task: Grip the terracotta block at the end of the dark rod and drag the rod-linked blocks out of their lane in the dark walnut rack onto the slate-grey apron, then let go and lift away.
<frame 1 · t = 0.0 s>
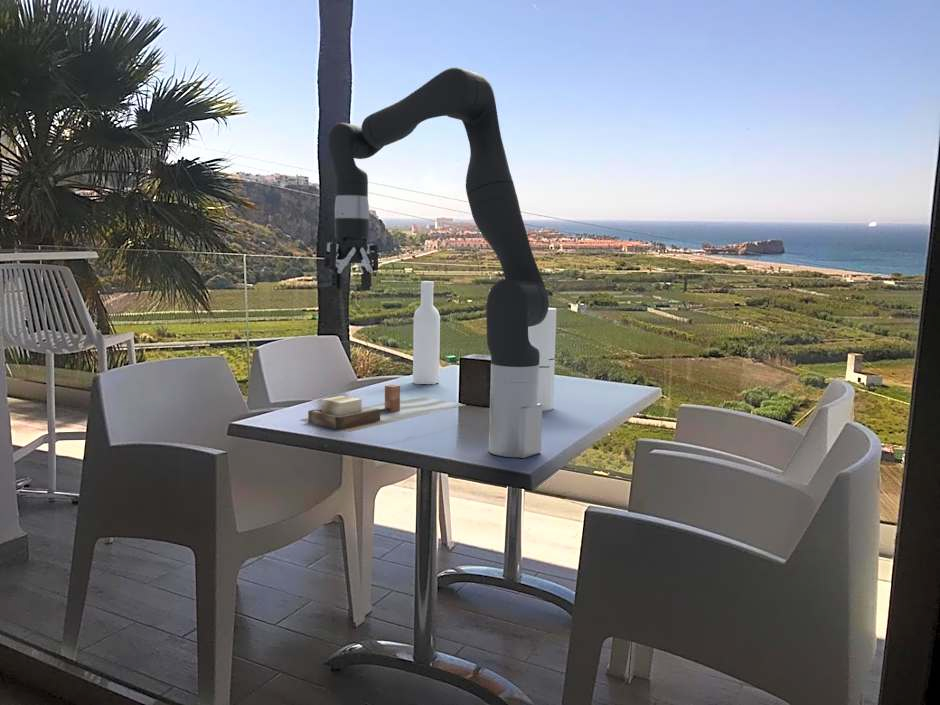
hand: (351, 290, 168), 29 cm above the table, tool pointing down, fingers open, 8 cm apart
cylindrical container: (538, 408, 187), on the table
rod-linked blocks: (341, 421, 164), point 1 cm above the table, touching lane rack
lane rack: (364, 420, 169), on the table
bottle: (426, 383, 221), on the table
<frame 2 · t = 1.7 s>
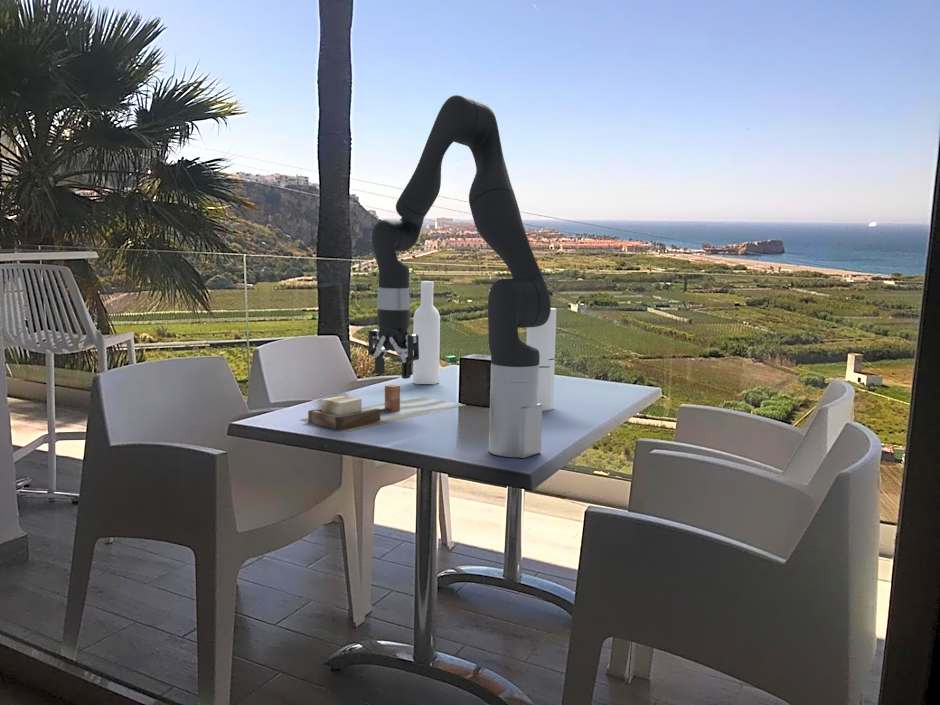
hand: (392, 376, 175), 9 cm above the table, tool pointing down, fingers open, 8 cm apart
nothing on the table moved.
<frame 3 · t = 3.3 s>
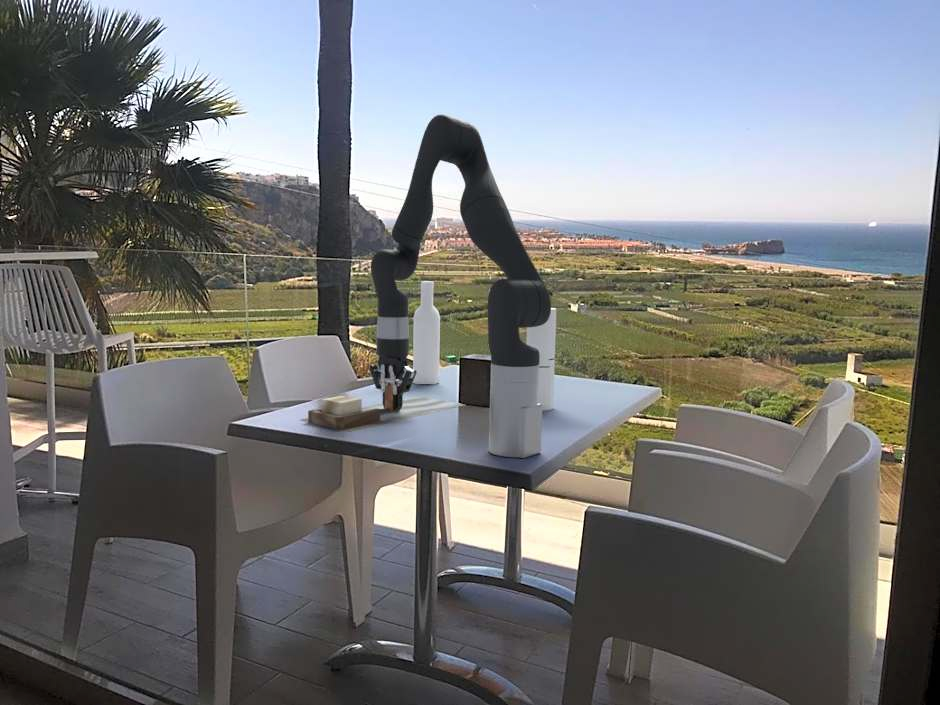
hand: (392, 408, 176), 1 cm above the table, tool pointing down, fingers closed on rod-linked blocks, 2 cm apart
rod-linked blocks: (341, 421, 164), point 1 cm above the table, touching gripper, lane rack
everything else where it was.
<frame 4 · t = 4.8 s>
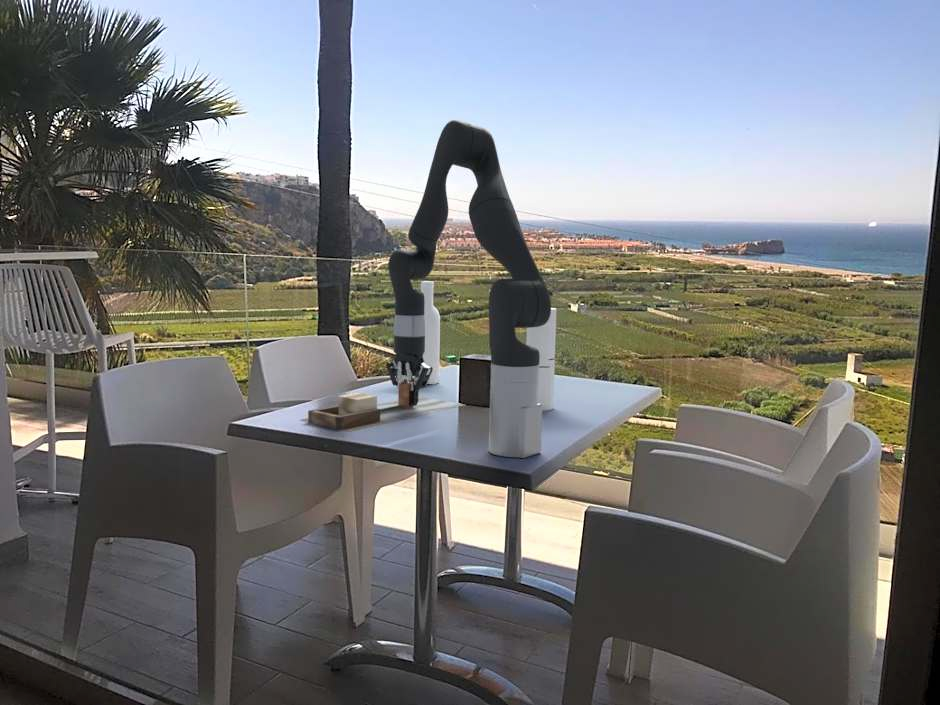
hand: (408, 404, 181), 2 cm above the table, tool pointing down, fingers closed on rod-linked blocks, 2 cm apart
rod-linked blocks: (357, 418, 167), point 1 cm above the table, touching gripper
everything else where it was.
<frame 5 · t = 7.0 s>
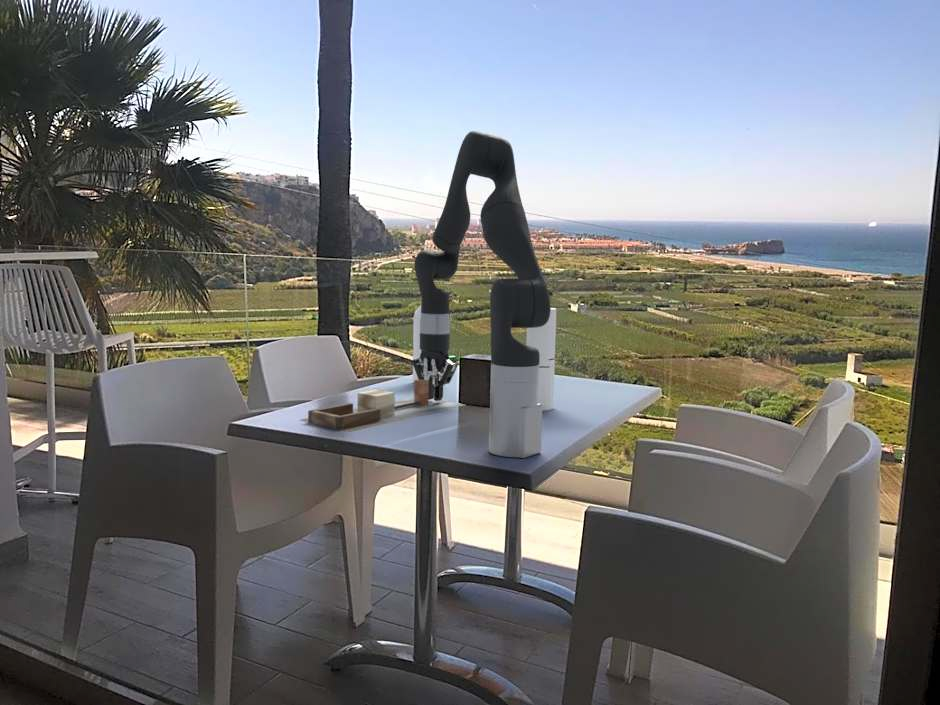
hand: (433, 399, 188), 1 cm above the table, tool pointing down, fingers closed
rod-linked blocks: (376, 414, 172), point 1 cm above the table, touching lane rack
everything else where it was.
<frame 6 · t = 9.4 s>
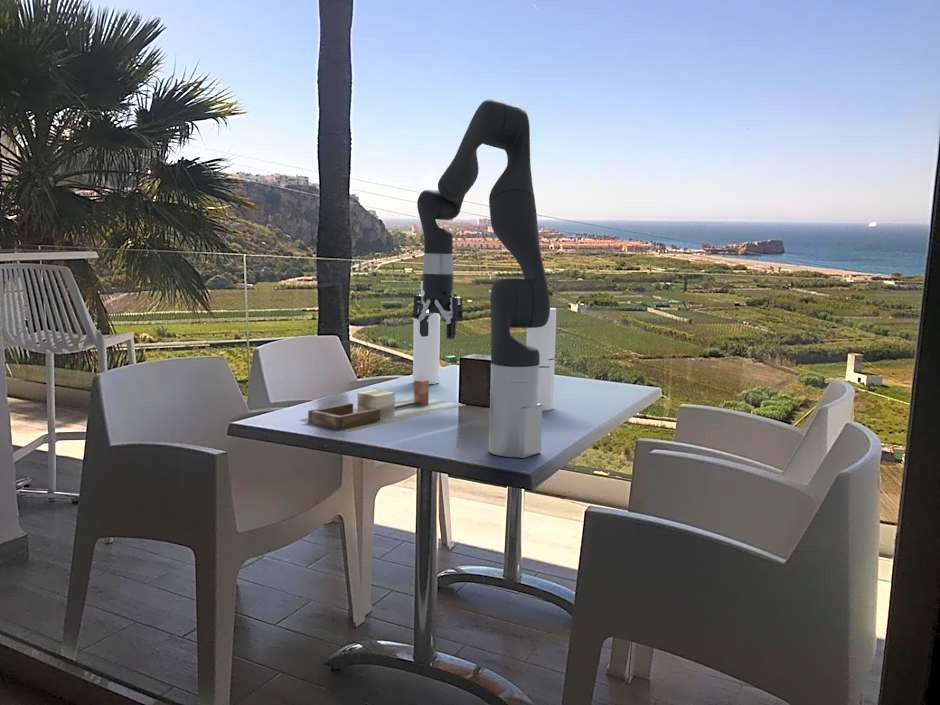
hand: (437, 337, 186), 17 cm above the table, tool pointing down, fingers open, 8 cm apart
nothing on the table moved.
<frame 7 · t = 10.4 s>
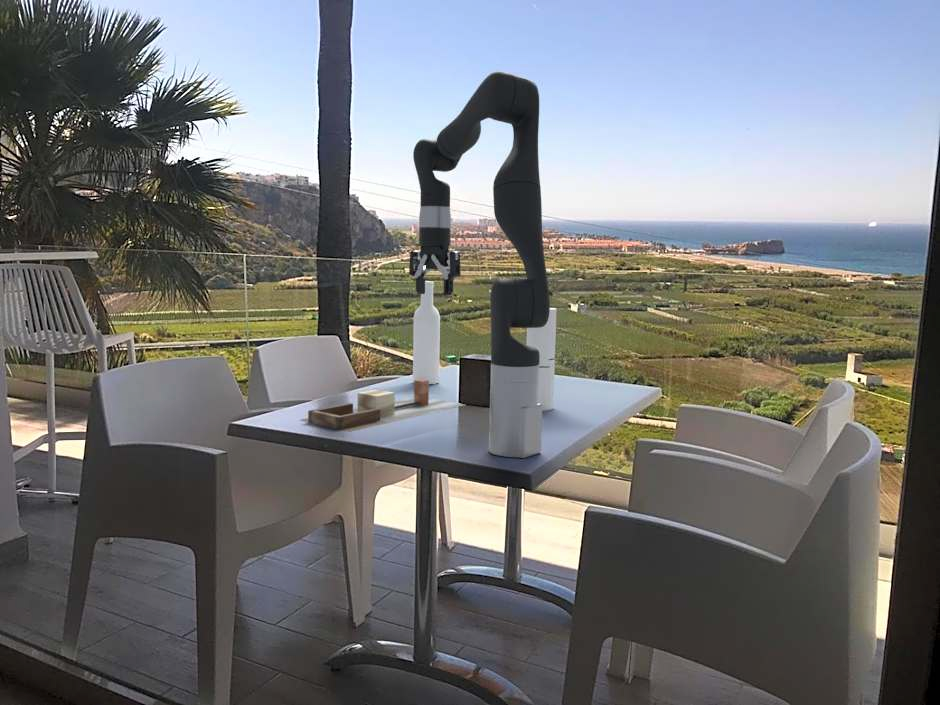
hand: (434, 294, 179), 28 cm above the table, tool pointing down, fingers open, 8 cm apart
nothing on the table moved.
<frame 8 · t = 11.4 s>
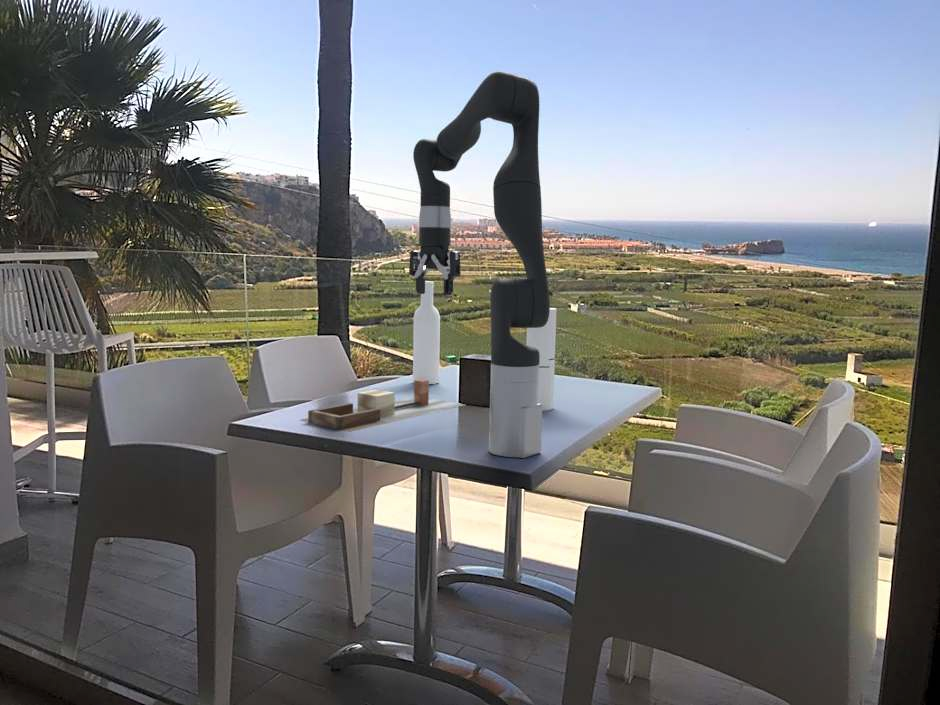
hand: (434, 294, 179), 28 cm above the table, tool pointing down, fingers open, 8 cm apart
nothing on the table moved.
at the end: rod-linked blocks inside the target area (5.2 cm from its centre), point 0.8 cm above the table; rod-linked blocks tilted 0°; the gripper is holding nothing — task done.
